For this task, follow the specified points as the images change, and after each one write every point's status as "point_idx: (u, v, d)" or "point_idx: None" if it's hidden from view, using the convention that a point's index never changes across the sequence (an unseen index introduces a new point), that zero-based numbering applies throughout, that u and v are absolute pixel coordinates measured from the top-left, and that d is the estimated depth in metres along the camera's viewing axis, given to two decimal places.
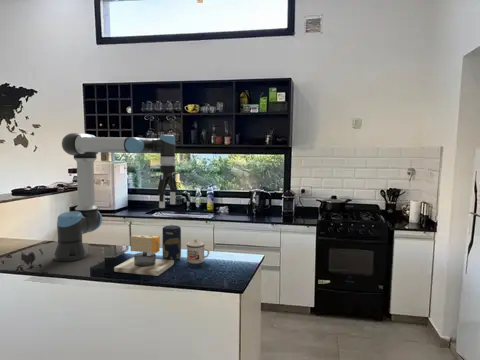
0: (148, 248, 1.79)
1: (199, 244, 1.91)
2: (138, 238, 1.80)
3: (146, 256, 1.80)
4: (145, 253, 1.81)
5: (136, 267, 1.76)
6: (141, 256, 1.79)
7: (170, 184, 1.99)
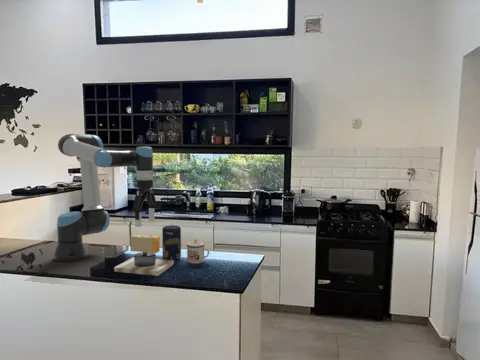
0: (148, 248, 1.79)
1: (199, 244, 1.91)
2: (138, 238, 1.80)
3: (146, 256, 1.80)
4: (145, 253, 1.81)
5: (136, 267, 1.76)
6: (141, 256, 1.79)
7: (148, 200, 1.84)
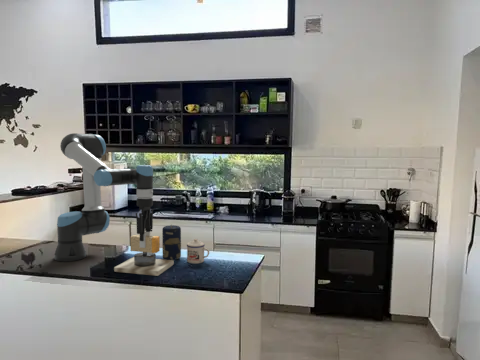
0: (148, 248, 1.79)
1: (199, 244, 1.91)
2: (138, 238, 1.80)
3: (146, 256, 1.80)
4: (145, 253, 1.81)
5: (136, 267, 1.76)
6: (141, 256, 1.79)
7: (146, 220, 1.82)
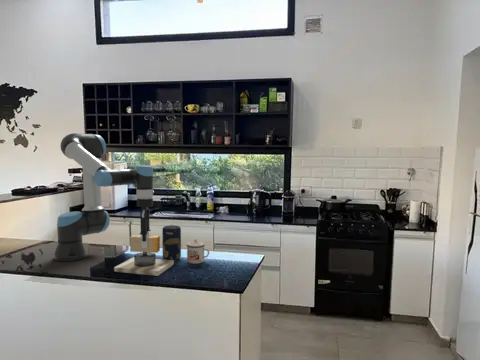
0: (149, 247, 1.80)
1: (199, 244, 1.91)
2: (138, 238, 1.80)
3: (147, 256, 1.80)
4: (145, 253, 1.81)
5: (136, 267, 1.76)
6: (142, 256, 1.79)
7: None
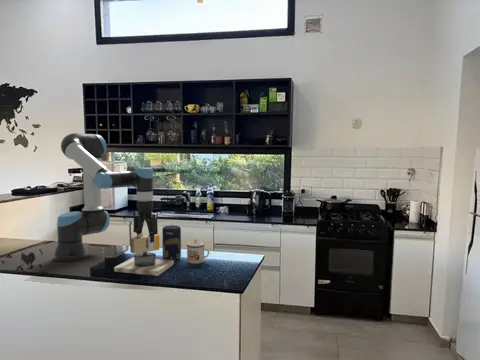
0: None
1: (199, 244, 1.91)
2: (142, 239, 1.78)
3: (150, 255, 1.82)
4: (146, 253, 1.82)
5: (136, 267, 1.76)
6: (147, 256, 1.80)
7: (142, 222, 1.82)
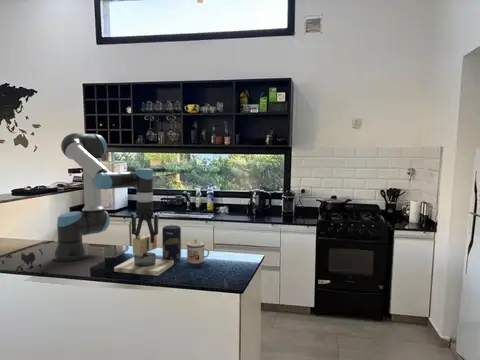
0: None
1: (199, 244, 1.91)
2: (145, 239, 1.78)
3: (151, 254, 1.83)
4: (146, 252, 1.82)
5: (136, 267, 1.76)
6: (149, 255, 1.81)
7: (141, 223, 1.81)
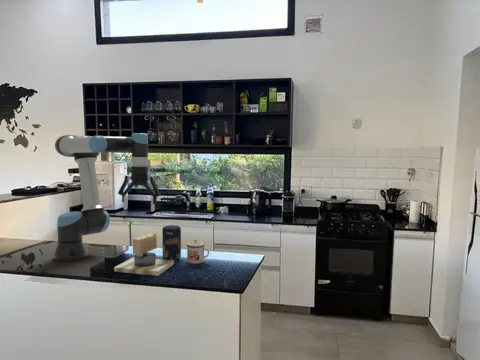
0: (151, 245, 1.83)
1: (199, 244, 1.91)
2: (145, 239, 1.79)
3: (151, 254, 1.83)
4: (146, 252, 1.82)
5: (136, 267, 1.76)
6: (149, 255, 1.81)
7: (131, 187, 1.81)
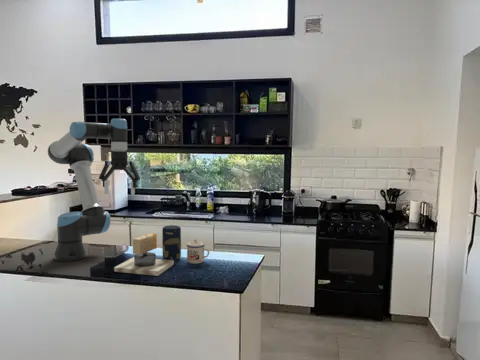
0: (151, 245, 1.83)
1: (199, 244, 1.91)
2: (145, 239, 1.79)
3: (151, 254, 1.83)
4: (146, 252, 1.82)
5: (136, 267, 1.76)
6: (149, 255, 1.81)
7: (111, 171, 1.86)
